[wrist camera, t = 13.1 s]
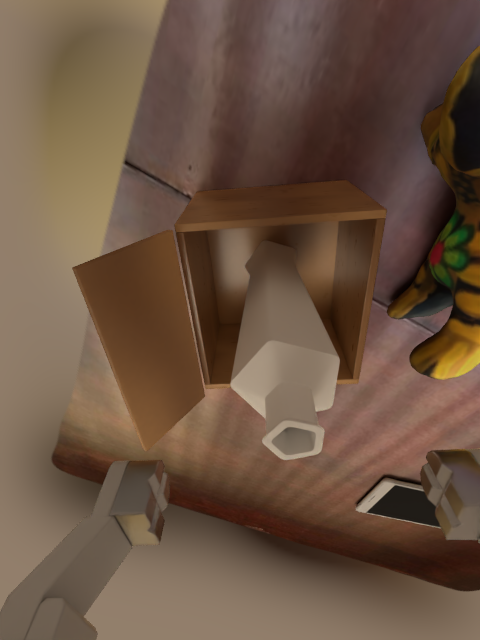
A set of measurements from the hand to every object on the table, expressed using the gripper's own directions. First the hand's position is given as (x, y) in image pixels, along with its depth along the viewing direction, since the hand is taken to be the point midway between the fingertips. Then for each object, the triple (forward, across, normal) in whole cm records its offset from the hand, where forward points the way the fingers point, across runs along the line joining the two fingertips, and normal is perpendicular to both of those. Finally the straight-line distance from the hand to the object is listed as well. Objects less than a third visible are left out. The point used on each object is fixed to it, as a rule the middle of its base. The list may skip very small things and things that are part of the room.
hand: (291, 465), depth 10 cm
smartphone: (+16, -18, +34) cm, 42 cm away
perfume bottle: (+16, -1, 0) cm, 16 cm away
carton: (+16, 0, 0) cm, 17 cm away
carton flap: (+7, +6, 0) cm, 9 cm away
